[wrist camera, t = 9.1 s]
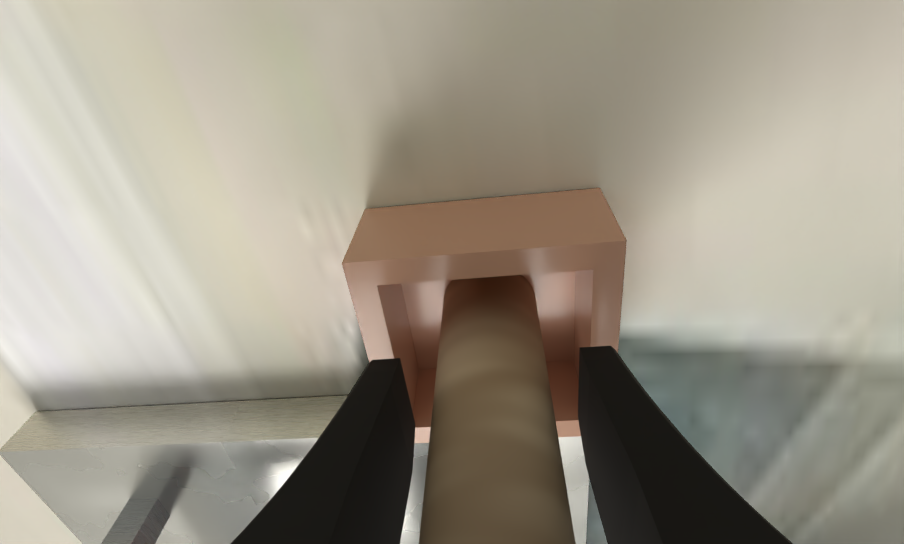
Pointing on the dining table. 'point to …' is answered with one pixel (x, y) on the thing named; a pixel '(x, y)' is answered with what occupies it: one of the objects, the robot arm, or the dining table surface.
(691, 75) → the dining table surface
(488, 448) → the stylus
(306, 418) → the grey fixture board
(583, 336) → the holder
